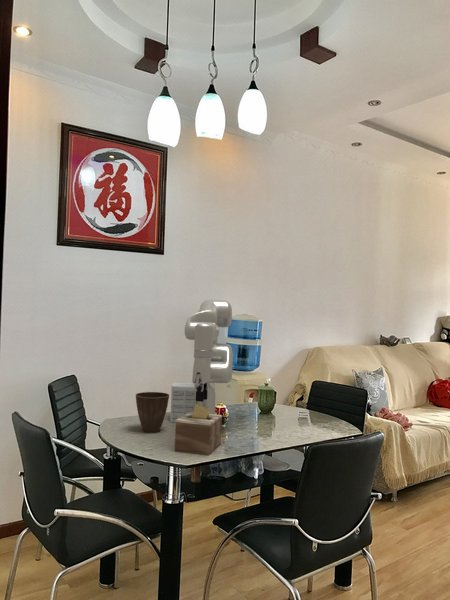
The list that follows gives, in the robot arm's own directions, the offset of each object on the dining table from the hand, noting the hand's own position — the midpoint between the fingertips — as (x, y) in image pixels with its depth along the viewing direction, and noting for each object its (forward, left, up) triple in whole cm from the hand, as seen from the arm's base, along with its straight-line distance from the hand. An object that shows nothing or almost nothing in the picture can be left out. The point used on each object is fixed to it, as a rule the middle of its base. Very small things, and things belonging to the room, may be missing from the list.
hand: (201, 399), depth 204 cm
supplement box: (-43, -22, -19) cm, 52 cm away
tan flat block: (0, +1, -3) cm, 3 cm away
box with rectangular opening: (0, 0, -19) cm, 19 cm away
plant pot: (-17, -28, -19) cm, 38 cm away
